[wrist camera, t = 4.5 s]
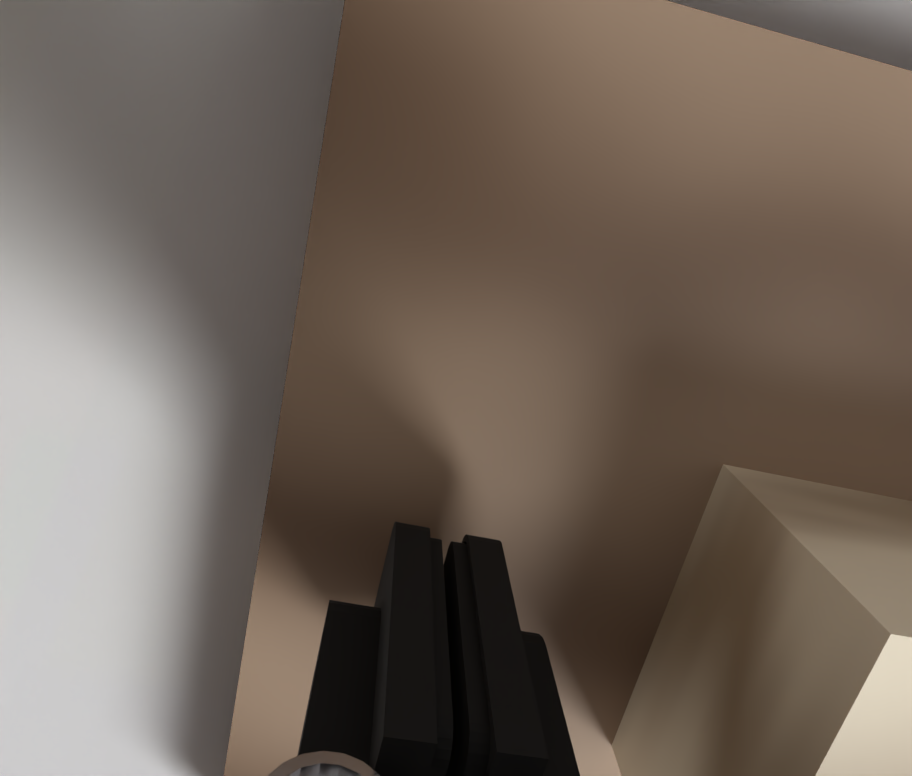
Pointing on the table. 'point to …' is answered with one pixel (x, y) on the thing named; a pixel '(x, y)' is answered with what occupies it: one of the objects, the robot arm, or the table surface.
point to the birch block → (781, 639)
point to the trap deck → (575, 319)
